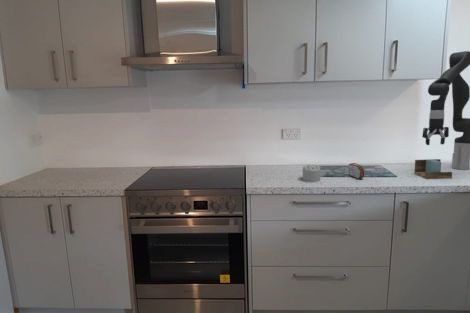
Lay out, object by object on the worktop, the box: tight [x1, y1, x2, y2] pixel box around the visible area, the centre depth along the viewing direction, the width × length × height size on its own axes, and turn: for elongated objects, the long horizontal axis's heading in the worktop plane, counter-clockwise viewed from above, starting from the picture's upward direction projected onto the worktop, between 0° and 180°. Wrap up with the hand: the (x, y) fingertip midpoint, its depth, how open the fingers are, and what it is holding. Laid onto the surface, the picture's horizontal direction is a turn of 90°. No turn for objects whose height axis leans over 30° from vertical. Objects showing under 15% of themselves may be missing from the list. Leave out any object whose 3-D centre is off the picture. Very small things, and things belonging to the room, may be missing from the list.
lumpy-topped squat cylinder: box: [302, 164, 321, 183], centre depth 203 cm, size 10×13×9 cm
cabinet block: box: [425, 158, 442, 173], centre depth 202 cm, size 8×4×8 cm, turn 0°
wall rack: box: [413, 158, 453, 180], centre depth 202 cm, size 14×15×9 cm
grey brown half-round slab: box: [348, 162, 365, 180], centre depth 205 cm, size 15×3×8 cm, turn 9°
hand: (434, 144), depth 199 cm, fingers open, 8 cm apart
